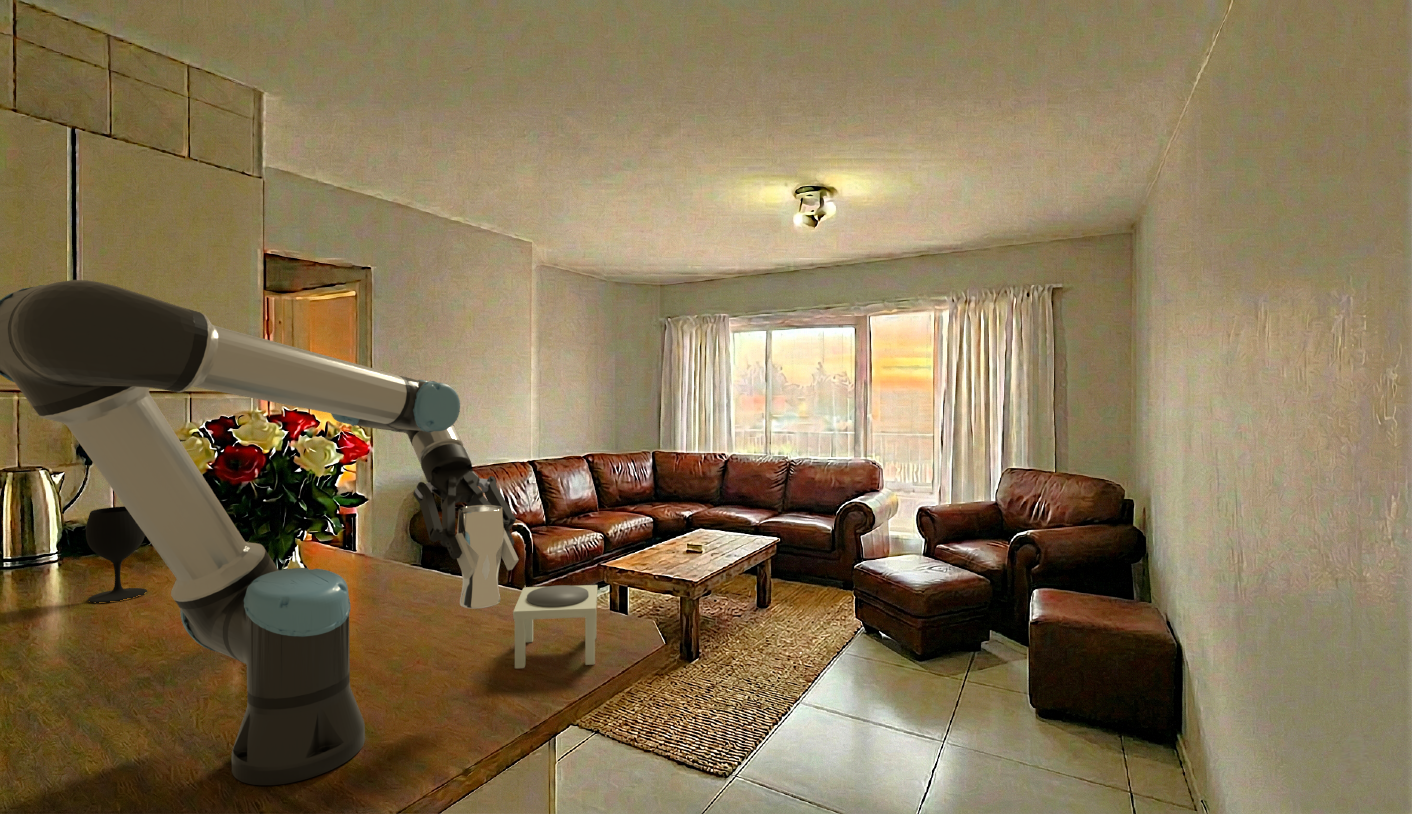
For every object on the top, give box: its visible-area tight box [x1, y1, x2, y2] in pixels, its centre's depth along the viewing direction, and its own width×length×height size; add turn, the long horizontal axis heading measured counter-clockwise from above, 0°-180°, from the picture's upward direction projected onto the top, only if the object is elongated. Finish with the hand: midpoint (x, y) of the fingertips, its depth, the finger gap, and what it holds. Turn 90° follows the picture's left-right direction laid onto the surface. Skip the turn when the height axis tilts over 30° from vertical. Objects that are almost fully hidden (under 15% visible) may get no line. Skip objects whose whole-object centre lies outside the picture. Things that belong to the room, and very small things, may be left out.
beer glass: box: [456, 505, 504, 610], centre depth 108 cm, size 7×7×15 cm
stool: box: [512, 584, 598, 669], centre depth 125 cm, size 14×14×11 cm
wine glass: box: [85, 505, 148, 604], centre depth 155 cm, size 10×10×20 cm
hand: (492, 569), depth 105 cm, fingers closed on beer glass, 7 cm apart
